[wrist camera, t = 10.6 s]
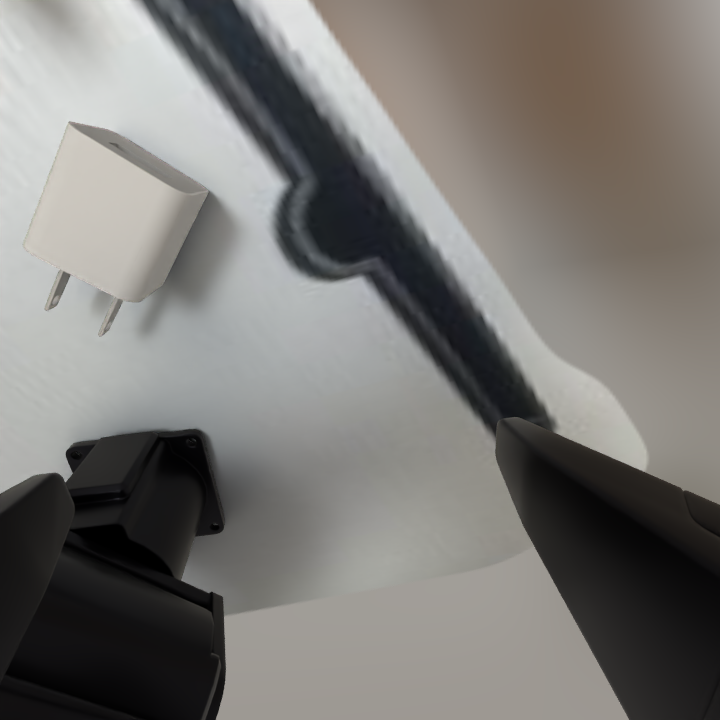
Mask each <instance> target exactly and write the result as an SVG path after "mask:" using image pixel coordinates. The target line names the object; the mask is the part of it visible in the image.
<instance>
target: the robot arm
mask: <svg viewBox="0 0 720 720" xmlns="http://www.w3.org/2000/svg"><path fill="white" fill-rule="evenodd" d="M189 438H194V439H195V440H196V441H197V442H191V441H190V440H189ZM75 451H77V452H80V453H81V454H82V455H79V454H77V453H76V452H75ZM495 454H496V460H497V463H498V466H499V468H500V471H501V473H502V476H503V478H504V481H505V483H506V485H507V488H508V490H509V493H510V495H511V498H512V500H513V503H514V505H515V507H516V510H517V512H518V515H519V517H520V519H521V522H522V524H523V526H524V528H525V530H526V532H527V534H528V536H529V537H530V539H531V541H532V543H533V545H534V547H535V548H536V550H537V552H538V554H539V556H540V557H541V559H542V561H543V563H544V565H545V567H546V568H547V570H548V572H549V574H550V576H551V578H552V579H553V581H554V583H555V585H556V587H557V588H558V590H559V592H560V594H561V596H562V598H563V599H564V601H565V603H566V605H567V607H568V608H569V610H570V612H571V614H572V616H573V618H574V619H575V621H576V623H577V625H578V627H579V629H580V630H581V632H582V634H583V636H584V638H585V640H586V641H587V643H588V645H589V647H590V649H591V651H592V652H593V654H594V656H595V658H596V660H597V662H598V663H599V665H600V667H601V669H602V670H603V672H604V674H605V676H606V678H607V680H608V682H609V683H610V685H611V687H612V689H613V691H614V693H615V694H616V696H617V698H618V700H619V702H620V704H621V705H622V707H623V709H624V711H625V713H626V714H627V716H628V718H629V720H720V505H719V504H717V503H714V502H712V501H709V500H707V499H705V498H703V497H700V496H698V495H696V494H694V493H691V492H689V491H683V490H682V489H681V488H680V487H677V486H675V485H672V484H670V483H668V482H666V481H664V480H661V479H659V478H657V477H654V476H652V475H650V474H647V473H645V472H643V471H641V470H638V469H636V468H634V467H631V466H629V465H627V464H625V463H622V462H620V461H618V460H615V459H613V458H611V457H608V456H606V455H604V454H602V453H599V452H597V451H595V450H592V449H590V448H588V447H585V446H583V445H581V444H579V443H576V442H574V441H572V440H569V439H567V438H565V437H563V436H560V435H558V434H556V433H553V432H551V431H549V430H546V429H544V428H542V427H540V426H537V425H535V424H533V423H530V422H528V421H526V420H524V419H521V418H519V417H513V418H505V419H500V420H499V421H498V424H497V432H496V449H495ZM66 458H67V460H68V463H69V465H70V467H71V470H72V472H73V474H72V475H71V477H70V478H69V479H68V480H67V482H66V483H65V482H64V479H63V478H62V476H61V475H60V474H58V473H47V474H39V475H35V476H32V477H30V478H28V479H27V480H25V481H23V482H21V483H19V484H17V485H16V486H14V487H12V488H10V489H8V490H6V491H5V492H3V493H1V494H0V720H216V716H217V714H218V711H219V707H220V703H221V700H222V695H223V690H224V685H225V673H226V663H225V637H224V610H223V597H222V596H220V595H218V594H216V593H213V592H211V593H207V592H205V591H203V590H200V589H198V588H196V587H194V586H192V585H189V584H187V583H185V582H183V581H181V578H182V575H183V572H184V569H185V566H186V563H187V560H188V557H189V553H190V550H191V547H192V544H193V541H194V538H195V537H196V536H204V535H211V534H218V533H220V532H222V531H223V529H224V525H225V518H224V515H223V511H222V507H221V503H220V499H219V495H218V491H217V487H216V483H215V479H214V475H213V471H212V467H211V464H210V460H209V456H208V452H207V448H206V444H205V440H204V436H203V434H202V433H201V432H200V431H197V430H183V431H174V432H165V433H154V432H146V433H137V434H128V435H119V436H110V437H103V438H101V439H100V440H95V441H86V442H78V443H74V444H73V445H71V446H70V448H69V449H68V450H67V451H66ZM213 523H216V524H218V525H213Z"/></svg>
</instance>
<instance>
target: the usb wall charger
mask: <svg viewBox="0 0 720 720" xmlns="http://www.w3.org/2000/svg"><path fill="white" fill-rule="evenodd" d="M208 192H209V191H208V190H207V189H206V188H205V187H203V186H202V185H200V184H199V183H198V182H196V181H194V180H193V179H191V178H190V177H188V176H186V175H185V174H183V173H181V172H180V171H178V170H177V169H175V168H173V167H172V166H170V165H169V164H167V163H165V162H164V161H162V160H161V159H159V158H157V157H156V156H154V155H152V154H151V153H149V152H148V151H146V150H144V149H143V148H141V147H140V146H138V145H136V144H135V143H133V142H131V141H130V140H128V139H126V138H125V137H123V136H121V135H119V134H117V133H115V132H113V131H110V130H107V129H103V128H98V127H94V126H89V125H84V124H80V123H75V122H68V125H67V127H66V130H65V133H64V135H63V138H62V141H61V143H60V146H59V149H58V151H57V154H56V157H55V159H54V162H53V165H52V168H51V170H50V173H49V176H48V178H47V181H46V184H45V186H44V189H43V192H42V194H41V197H40V200H39V202H38V205H37V208H36V210H35V213H34V216H33V218H32V221H31V224H30V226H29V229H28V232H27V234H26V237H25V240H24V242H23V247H24V249H25V250H26V251H27V252H29V253H30V254H32V255H33V256H35V257H37V258H39V259H41V260H43V261H45V262H47V263H49V264H51V265H53V266H55V267H57V268H59V269H60V270H59V272H58V275H57V277H56V280H55V282H54V284H53V287H52V289H51V292H50V295H49V297H48V300H47V303H46V306H45V310H46V311H48V310H50V309H52V308H54V307H55V306H57V304H58V302H59V300H60V298H61V295H62V293H63V291H64V289H65V287H66V284H67V282H68V280H69V277H70V275H72V276H74V277H76V278H78V279H80V280H82V281H84V282H86V283H88V284H90V285H92V286H94V287H96V288H98V289H100V290H102V291H104V292H106V293H108V294H110V295H112V296H114V297H115V298H114V300H113V302H112V304H111V307H110V309H109V311H108V313H107V315H106V317H105V320H104V322H103V324H102V327H101V329H100V331H99V334H98V335H99V336H102V335H103V334H105V333H106V332H107V331H108V330H109V329H110V327H111V325H112V323H113V320H114V318H115V316H116V314H117V312H118V310H119V308H120V306H121V304H122V302H123V300H124V301H128V302H140V301H142V300H143V299H145V298H146V297H147V296H149V295H150V294H151V293H153V292H154V291H155V290H157V289H158V288H159V287H161V286H162V285H163V284H164V282H165V280H166V278H167V276H168V274H169V272H170V270H171V267H172V265H173V263H174V261H175V259H176V257H177V255H178V253H179V251H180V249H181V247H182V245H183V243H184V241H185V239H186V237H187V235H188V233H189V231H190V229H191V227H192V225H193V223H194V221H195V219H196V217H197V215H198V213H199V211H200V209H201V207H202V205H203V203H204V201H205V198H206V196H207V194H208ZM54 298H55V299H54Z"/></svg>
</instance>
